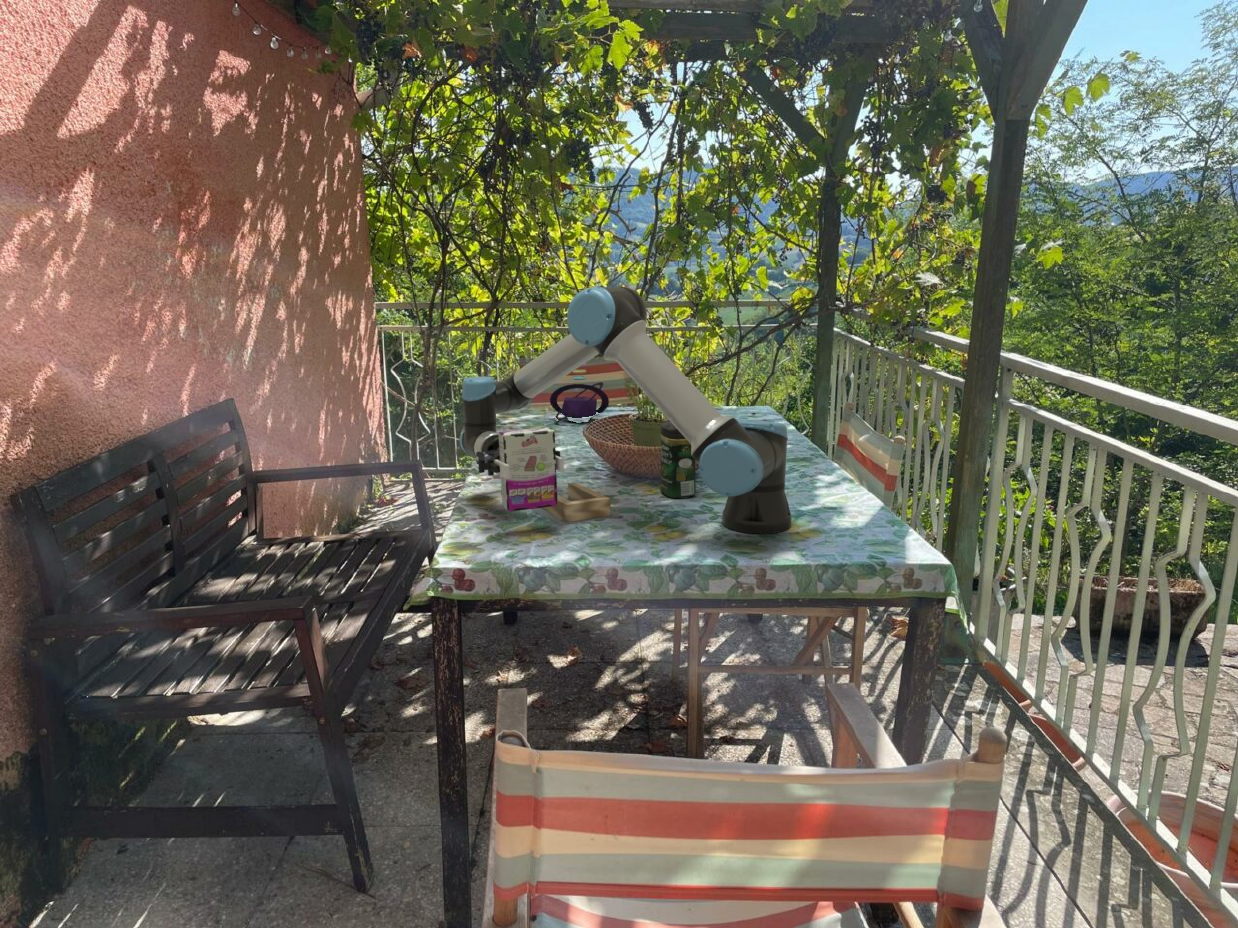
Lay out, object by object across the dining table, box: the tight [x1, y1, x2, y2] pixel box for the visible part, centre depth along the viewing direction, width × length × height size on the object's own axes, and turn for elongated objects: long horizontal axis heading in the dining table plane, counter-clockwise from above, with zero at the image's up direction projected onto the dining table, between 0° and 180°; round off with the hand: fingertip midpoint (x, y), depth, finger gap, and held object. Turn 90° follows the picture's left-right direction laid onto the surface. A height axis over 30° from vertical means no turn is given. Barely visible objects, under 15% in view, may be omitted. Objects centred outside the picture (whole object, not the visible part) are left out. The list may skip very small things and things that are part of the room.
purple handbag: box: [549, 362, 610, 422], centre depth 310 cm, size 22×21×25 cm
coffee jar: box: [659, 419, 697, 499], centre depth 209 cm, size 10×8×19 cm
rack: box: [542, 481, 611, 522], centre depth 196 cm, size 11×18×4 cm, turn 30°
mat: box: [530, 497, 624, 527], centre depth 196 cm, size 16×20×1 cm
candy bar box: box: [497, 427, 558, 512], centre depth 177 cm, size 11×5×16 cm, turn 112°
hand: (535, 468), depth 174 cm, fingers closed on candy bar box, 11 cm apart
